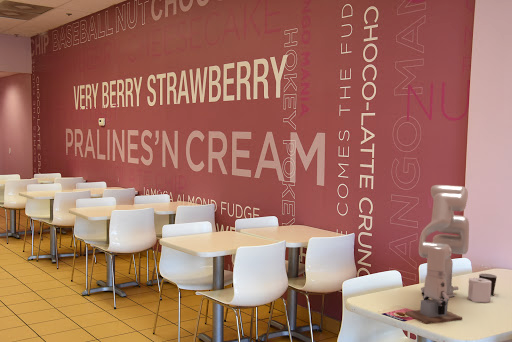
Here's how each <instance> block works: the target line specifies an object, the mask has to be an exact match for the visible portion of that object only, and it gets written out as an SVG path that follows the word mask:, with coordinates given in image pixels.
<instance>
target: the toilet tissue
mask: <svg viewBox="0 0 512 342" xmlns="http://www.w3.org/2000/svg"><path fill="white" fill-rule="evenodd" d="M491 283H492V282H491V281H490V280H487V279H483V278H479V277H469V278H468V286H467V287H468V291H467V299H468V300H470V301H472V302H473V303H474V302H475V303H490V302H491V300H492V299H491V297H492V296H491Z"/></svg>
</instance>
